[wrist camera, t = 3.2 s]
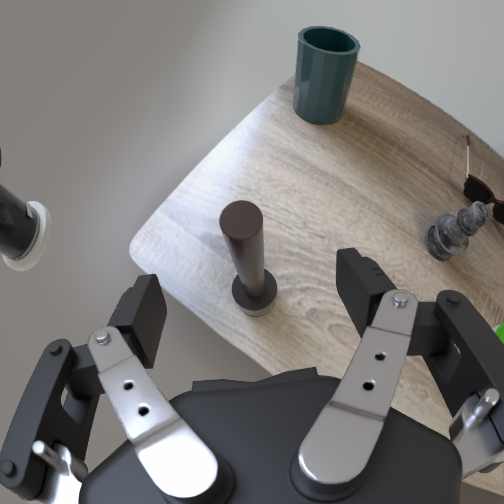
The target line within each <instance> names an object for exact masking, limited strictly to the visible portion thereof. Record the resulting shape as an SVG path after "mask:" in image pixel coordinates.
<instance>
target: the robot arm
mask: <svg viewBox="0 0 504 504" xmlns="http://www.w3.org/2000/svg"><path fill="white" fill-rule="evenodd" d="M0 166H1V149H0ZM39 230H40V216H39V213H38V212H37V210H36V209H34V208H33V207H31V206H30V204H28V203H27V202H26V203H25V202H24V201H23V200H21V199H20V198H19V197H17V196H16V195H15V194H13V193H12V192H11V191H10V190H8V189H7V188H6V187H5V186H3V185H2V184H1V183H0V254H2V255H4V256H6V257H8V258H9V259H11V260H13V261H19V260H21V259H23V258H24V257H26V256H27V255H28V254H29V252H30V251H31V250H32V248H33V246H34V245H35V243H36V240H37V238H38V234H39ZM336 287H337V291H338V294H339V296H340V298H341V300H342V302H343V304H344V305H345V307H346V309H347V311H348V313H349V315H350V317H351V319H352V321H353V323H354V325H355V327H356V329H357V331H358V333H359V335H360V337H361V341H360V343H359V345H358V348H357V350H356V352H355V354H354V356H353V358H352V360H351V362H350V364H349V366H348V368H347V370H346V372H345V374H344V376H343V378H342V379H339V378H336V377H331V376H323V375H318V373H317V370H316V367H311V368H305V369H300V370H293V371H287V372H283V373H281V374H278V375H275V376H272V377H269V378H266V379H263V380H260V381H257V382H244V381H234V380H224V379H219V380H205V381H193V386H192V390H191V391H188V392H185V393H182V394H180V395H178V396H176V397H174V398H173V399H171V400H169V401H167V399H166V398H165V397H164V395H163V394H162V392H161V391H160V390H159V388H158V387H157V386H156V384H155V383H154V382H153V381H152V379H151V378H150V376H149V374H148V373H147V371H146V370H145V369H150V368H153V365H154V361H155V357H156V353H157V350H158V346H159V342H160V338H161V334H162V330H163V327H164V323H165V319H166V315H167V307H166V302H165V299H164V296H163V293H162V290H161V287H160V284H159V281H158V278H157V276H156V274H149V275H141V276H139V277H138V278H137V280H136V282H135V284H134V286H133V287H130V288H129V289H128V290H127V291H126V292H125V293H124V294H123V295H122V297H121V299H120V300H119V303H118V304H117V306H116V309H115V310H114V312H113V314H112V317H111V318H110V321H109V323H108V325H107V326H106V327H103V328H100V329H98V330H96V331H95V332H94V333H92V335H91V336H90V337H89V339H88V344H85V345H81V346H78V347H74V348H73V347H72V345H71V344H70V342H69V341H68V340H66V339H58V340H56V341H54V342H52V343H50V344H49V345H48V346H47V347H46V348H45V350H44V352H43V354H42V356H41V358H40V360H39V361H38V364H37V365H36V368H35V370H34V372H33V374H32V376H31V378H30V380H29V382H28V384H27V386H26V389H25V391H24V393H23V396H22V398H21V400H20V402H19V405H18V407H17V410H16V412H15V414H14V417H13V419H12V422H11V425H10V427H9V430H8V433H7V435H6V438H5V441H4V444H3V447H2V450H1V453H0V483H1V484H2V485H3V486H4V487H6V488H7V489H9V490H11V491H12V492H14V493H15V494H17V495H18V496H19V497H20V498H22V499H23V500H25V501H27V502H28V503H30V504H460V486H461V480H463V479H465V478H466V477H468V476H470V475H472V474H474V473H476V472H480V473H488V472H491V471H493V470H494V469H495V468H497V467H498V466H499V465H500V464H501V463H503V462H504V344H503V343H502V341H501V340H500V339H499V337H498V336H497V335H496V333H495V332H494V331H493V329H492V328H491V327H490V326H489V324H488V323H487V322H486V321H485V319H484V318H483V317H482V316H481V314H480V313H479V312H478V311H477V310H476V308H475V307H474V306H473V305H472V304H471V302H470V301H469V300H468V299H467V298H466V297H465V296H464V295H463V294H461V293H460V292H457V291H454V290H444V291H441V292H440V293H439V294H438V295H437V299H436V302H418V300H417V298H416V296H415V295H414V294H412V293H411V292H409V291H406V290H401V289H397V288H396V286H395V285H394V284H393V283H392V281H391V280H390V279H389V278H388V276H387V275H386V274H385V273H384V271H383V270H382V269H380V267H379V265H378V264H377V263H376V262H375V261H373V260H372V259H370V258H368V257H362V256H361V255H360V254H359V253H358V251H357V250H356V249H355V248H346V249H339V250H338V251H337V257H336ZM454 344H456V345H457V347H458V348H459V351H460V353H459V352H458V350H457V349H456V347H455V346H454ZM413 355H422V357H423V359H424V360H425V362H426V364H427V366H428V368H429V370H430V372H431V374H432V376H433V378H434V380H435V382H436V384H437V386H438V388H439V390H440V392H441V394H442V396H443V398H444V400H445V402H446V405H447V407H448V409H449V411H450V413H451V415H452V418H453V419H452V421H451V423H450V425H449V434H450V440H449V439H448V438H447V437H445V436H443V435H442V434H440V433H438V432H436V431H434V430H432V429H430V428H428V427H427V426H425V425H423V424H421V423H419V422H417V421H415V420H414V419H412V418H410V417H408V416H406V415H405V414H403V413H401V412H399V411H397V410H396V409H394V408H392V407H390V405H391V402H392V399H393V396H394V394H395V391H396V388H397V384H398V381H399V378H400V375H401V372H402V368H403V365H404V362H405V358H406V356H413ZM64 387H65V388H66V390H67V391H68V394H67V396H66V400H65V402H64V405H63V407H62V404H61V395H62V392H63V390H64ZM104 393H106V395H107V397H108V399H109V401H110V403H111V405H112V407H113V409H114V411H115V413H116V415H117V417H118V419H119V421H120V423H121V424H122V426H123V428H124V430H125V432H126V434H127V435H128V437H129V438H128V439H127V440H126V441H125V442H124V443H123V444H122V445H121V446H120V447H118V448H117V449H116V450H115V451H114V452H113V453H112V454H111V455H110V456H109V457H108V458H107V459H105V460H104V461H103V462H102V463H101V464H100V465H98V466H97V467H96V468H95V469H94V470H93V471H92V472H90V473H89V474H88V468H87V466H86V464H85V463H84V460H85V455H86V450H87V446H88V441H89V437H90V432H91V428H92V423H93V420H94V415H95V412H96V408H97V404H98V401H99V397H100V394H104Z"/></svg>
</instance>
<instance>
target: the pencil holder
mask: <svg viewBox="0 0 504 504" xmlns="http://www.w3.org/2000/svg"><path fill="white" fill-rule="evenodd" d="M359 51H360V44H359V42H358V40H357V39H356V38H354V37H353V36H352V35H350V34H348V33H346V32H344V31H342V30H339V29H335V28H332V27H324V26H314V27H313V26H312V27H308V28H305V29H303V30H301V31H300V32H299V33H298V45H297V58H296V73H295V85H294V97H293V107H294V110H295V112H296V113H297V114H298V115H299V116H300V117H301V118H302V119H304V120H306V121H308V122H311V123H314V124H319V125H327V124H332V123H335V122H337V121H338V120H339V119H340V118H341V117H342V115H343V112H344V109H345V106H346V102H347V98H348V95H349V91H350V87H351V83H352V79H353V76H354V72H355V68H356V64H357V60H358V55H359Z"/></svg>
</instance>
